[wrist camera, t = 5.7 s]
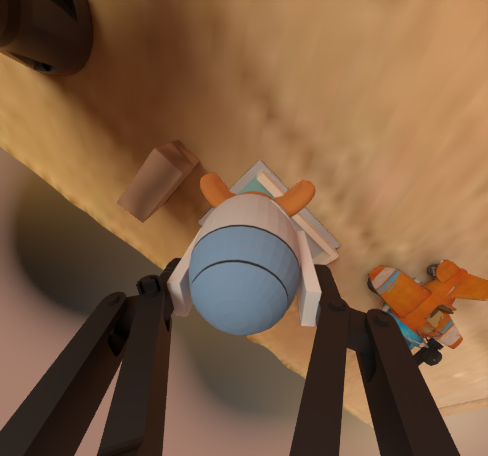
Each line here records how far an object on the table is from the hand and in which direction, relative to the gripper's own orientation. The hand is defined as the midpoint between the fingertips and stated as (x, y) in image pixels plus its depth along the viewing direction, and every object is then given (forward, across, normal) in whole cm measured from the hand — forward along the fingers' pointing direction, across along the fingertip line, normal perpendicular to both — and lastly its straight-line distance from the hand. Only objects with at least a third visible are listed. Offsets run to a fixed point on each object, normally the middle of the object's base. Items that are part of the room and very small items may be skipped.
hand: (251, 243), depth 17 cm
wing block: (+24, -17, 0) cm, 29 cm away
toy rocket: (+6, 0, 0) cm, 6 cm away
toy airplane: (+25, +32, -24) cm, 47 cm away
